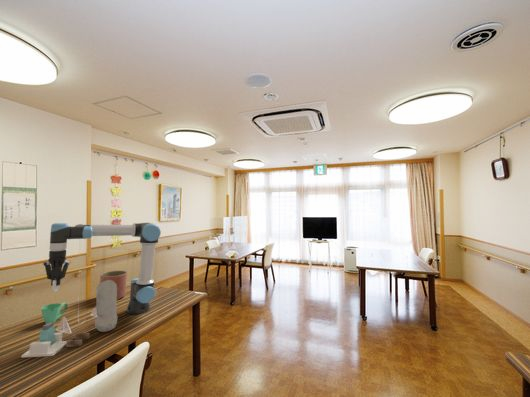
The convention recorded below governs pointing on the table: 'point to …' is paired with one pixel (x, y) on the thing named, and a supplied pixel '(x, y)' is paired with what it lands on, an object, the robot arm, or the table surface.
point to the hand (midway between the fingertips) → (55, 291)
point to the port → (45, 347)
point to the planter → (116, 281)
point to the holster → (77, 336)
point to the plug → (47, 333)
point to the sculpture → (106, 306)
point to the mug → (52, 312)
